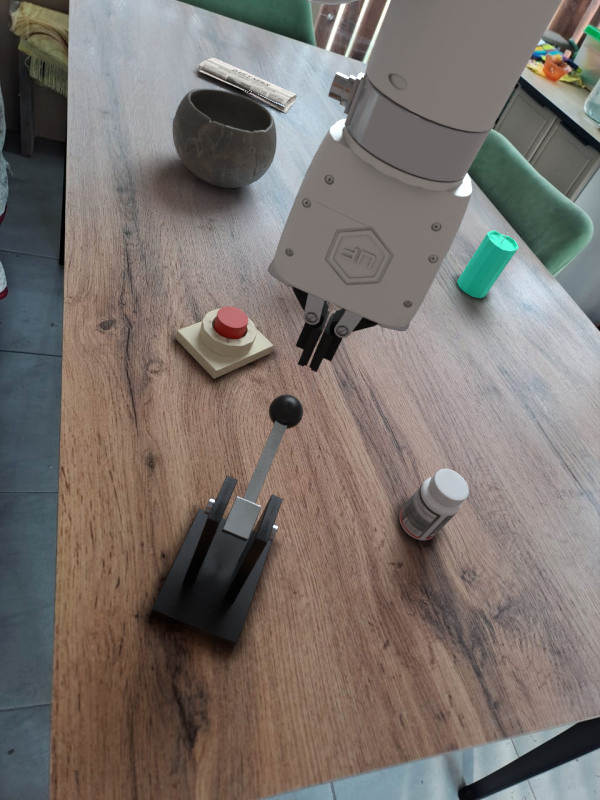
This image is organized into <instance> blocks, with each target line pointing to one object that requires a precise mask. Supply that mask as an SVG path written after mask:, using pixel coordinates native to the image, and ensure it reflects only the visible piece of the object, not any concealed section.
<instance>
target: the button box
mask: <svg viewBox="0 0 600 800" xmlns="http://www.w3.org/2000/svg"><path fill="white" fill-rule="evenodd" d="M221 308H222V307H219V308H215V309H213V310H210V311H207V312H206V314H205V315H204V316H203V318H202V320H201V321H199V322H196V323H192V324H191V325H187V326H185V327H182V328H179V329H177V330H176V334H175V340H176V341H177V342H178V343H179V344H180V345H181V346H182V347H183V348H184V349H185V350H186V351H187V352H188V354H190V355H191V356H192V358H193V359H194V360H195V361H196V362H197V363H198V364H199V365H200V366H201V367H202V368H203V369H204V370H205V371H206V373H207V374H209V375H210V377H211V378H213V379H214V380H215V379H217V378H219V377H222V376H223V375H226V374H228V373H230V372H232V371H234V370H237V369H239V368H241V367H243V366H246V365H248V364H250V363H253V362H254V361H257V360H259V359H261V358H264V357H265V356H268V355H270V354H272V351H273V349H274V344H273V343H271V341H270V340H269V339H268V338H267V337H266V336H265V335H263V334H262V333H261V332H260V331H259V329H258V328H256V325H255V322H254V321H252V320H251V319H250V318H249V317H248V324H247V327H246V330H245V333H244V335H243V336H242V337H241V338H239V339H227V338H225V337H222V336H220V335H219V334H218V333H217V332H216V331H215V329H214V323H215V320H216V316H217V312H218V310H219V309H221Z"/></svg>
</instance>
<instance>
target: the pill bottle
mask: <svg viewBox="0 0 600 800" xmlns="http://www.w3.org/2000/svg"><path fill="white" fill-rule="evenodd" d="M469 488H470V487H469V486H468V483H467V481H466V479H464V477H463V476H462V475H461V474H459V473H458V472H456V471H455V470H453V469H450V468H441V469H438V470H437V471H436V472H435V473H434V474H433V475H432V476H431V477H428V478H427V479H425V480H424V481H423V482H422V483H421V485H420V486H419V487H418V488H417V489H416V491H415V492H414V493H413V494H412V495H411V496H410V498H409V499H408V500H407V502H406V503H405V504H403V506H402V508H400V511H399V518H398V519H399V523H400V525H401V527H402V529H403V530H404V532H405V533H406V534H407V535H408V536H410V537H411V538H413V539H415V540H418V541H429V540H431V539H433V538H434V537H435V536H436V535H437V534H438V533H439V532H440V531H441V530H442V529H443V528H444V527H445V526H446V525H447V524H448V523H449V522H450V521H451V520H452V518H454V516H456V515H457V513H459V511H460V510H461V508H462V507H461V506H462V504H463V503H464V502H465V500H466V499H467V498H468V496H469V493H470V489H469Z"/></svg>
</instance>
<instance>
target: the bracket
mask: <svg viewBox="0 0 600 800" xmlns="http://www.w3.org/2000/svg"><path fill="white" fill-rule="evenodd" d="M238 481H239V480H238V479H237V478H234V477H232V476H230V475H225V478H224V480H223V482H222V485H221V486H220V489H219V491H218V493H217V496H216V498H215V497H212V496H210V498H209V499H208V501H207V504H206V505H205V509H202V508H198V511H197V512H196V515H195V517H194V519H193V521H192V523H191V525H190V528H189V530H188V532H187V533H186V536H185V538H184V539H183V542H182V544H181V546H180V549H179V551H178V553H177V555H176V557H175V559H174V561H173V563H172V565H171V567H170V570H169V572H168V574H167V575H166V578H165V580H164V582H163V584H162V586H161V588H160V591H159V593H158V594H157V597H156V599H155V601H154V603H153V604H152V605H153V606H152V608H151V610H150V615H151V616H153V617H156V618H158V619H161V620H164V621H165V622H168V623H171V624H173V625H176V626H178V627H181V628H183V629H186V630H188V631H191V632H193V633H196V634H197V635H200V636H203V637H205V638H208V639H211V640H213V641H215V642H218V643H220V644H223V645H224V646H228V647H229V648H233V649H235V648H236V646H237V645H238V643H239V639H240V636H241V634H242V631H243V628H244V625H245V622H246V621H247V617H248V613H249V611H250V607H251V605H252V602H253V599H254V596H255V593H256V590H257V588H258V584H259V581H260V578H261V576H262V572H263V570H264V567H265V563H266V561H267V558H268V555H269V552H270V549H271V546H272V543H273V541H274V539H275V536H276V534H277V532H278V530H279V524H278V523H277V524H276V520H277V517H278V515H279V512H280V509H281V506H282V503H283V499H284V498H282V497H280V496H278V495H275V494H273V493H271V495H270V496H269V499H268V501H267V503H266V504H265V506H264V509H263V510H262V513H261V515H260V517H259V518H258V520H257V521H256V523H255V525H254V527H253V529H252V532H251V534H250V537H249V539H248V540H247V541H243V540H240V539H238V538H236V537H233V536H231V535H228V534H226V533H224V532H222V529H223V526H224V524H225V522H226V519H227V518H223V517H224V515H225V512H226V510H227V507H228V505H229V503H230V500H231V498H232V496H233V493H234V490H235V488H236V486H237V483H238Z"/></svg>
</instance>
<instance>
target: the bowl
mask: <svg viewBox="0 0 600 800" xmlns="http://www.w3.org/2000/svg"><path fill="white" fill-rule="evenodd" d="M172 139H173V140H172V141H173V145H174V148H175V151H176V154H177V155H178V157H179V159H180V161H181V162H182V163H183V165H184V167H186V168H187V170H189V171H190V173H192V174H193V175H194V176H195V177H197V178H199V179H200V180H202V181H204V182H205V183H208V184H209V185H211V186H215V187H218V188H222V189H237V188H243V187H247V186H250V185H251V184H254V183H256V182H257V181H258V180H260V179H261V178H262V177H264V175H265V174H266V173H267V172H268V170H270V168H271V165H272V164H273V162H274V159H275V155H276V153H277V141H278V140H277V126H276V122H275V119H274V117H273V115H272V113H271V112H270V111H269V110H268V109H267V108H266V107H265V106H264V105H262V104H261V103H259V102H258V101H256V100H254V99H253V98H250V97H247V96H245V95H242V94H238V93H236V92H232V91H231V92H230V91H227V90H222V89H216V88H194V89H192V90H189V91H188V92H187V93H186V94H185V95H184V96H183V98H182V99H181V100H180V103H179V104H178V106H177V109H176V112H175V115H174V116H173V119H172Z"/></svg>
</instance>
